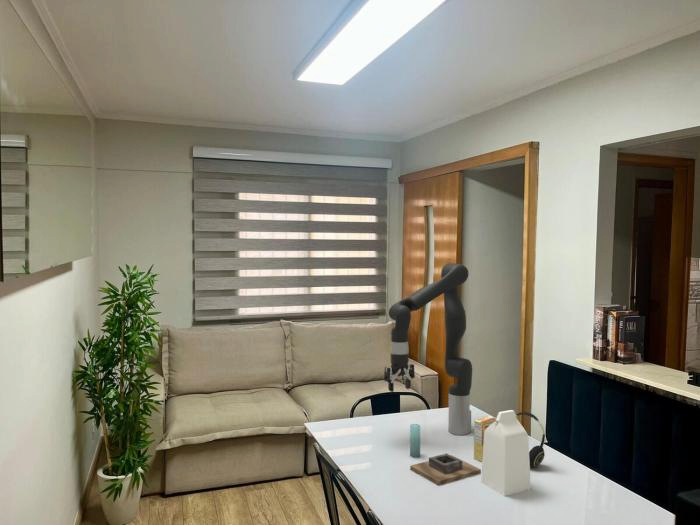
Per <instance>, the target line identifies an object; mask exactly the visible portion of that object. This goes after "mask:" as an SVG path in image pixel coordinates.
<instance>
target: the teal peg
mask: <svg viewBox="0 0 700 525" xmlns="http://www.w3.org/2000/svg"><path fill="white" fill-rule="evenodd" d="M419 456H420V457H421V424H418V423H412V424H410V425H409V457H411V458H415V457H417V458H420V457H419Z"/></svg>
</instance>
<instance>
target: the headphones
mask: <svg viewBox="0 0 700 525" xmlns="http://www.w3.org/2000/svg"><path fill="white" fill-rule="evenodd" d="M515 415H516V417H518V416H521V415H525V416H527V417H531V418H532V419H534V420H535V421H536V422H537V423H538V424H539V426H540V428H541V430H542V438H541V442H540V444H539V445H535V446H533V447H532V448H531V449H529V461H530V468H536V467H538V466H540V465H541V464H542V462H544V461H543V460H544V458H545V455H546V453H545V450H544V448H543V447H544V444H545V441H546V439H545V437H546V434H545V429H544V426H543V424H542V423H541V422H540V419H539V418H538V417H537V416H536V415H535V414H533V413H531V412H528V411H527V412H526V411H521V412H518V413H517V414H515Z"/></svg>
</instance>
